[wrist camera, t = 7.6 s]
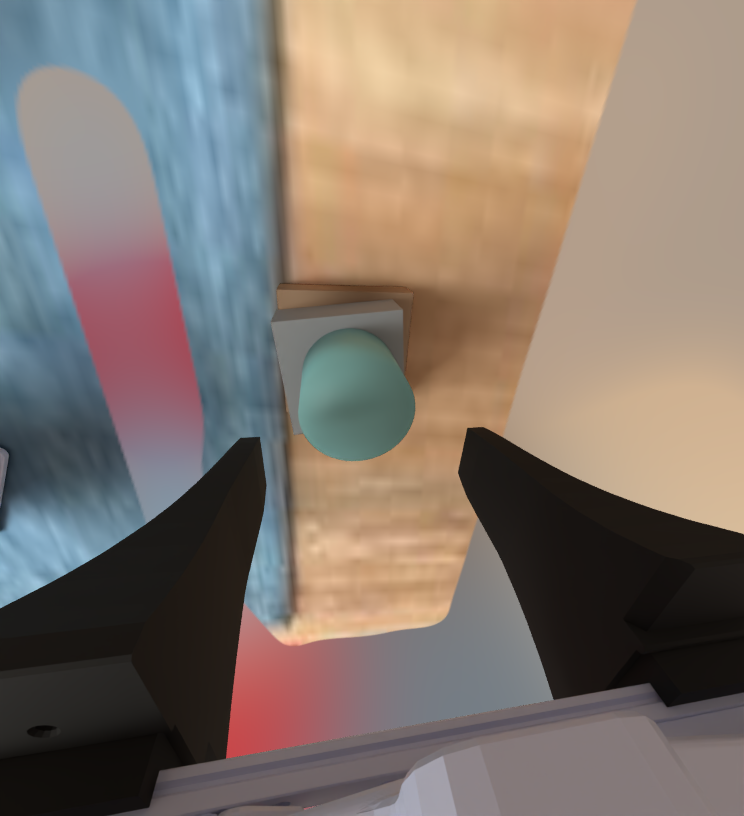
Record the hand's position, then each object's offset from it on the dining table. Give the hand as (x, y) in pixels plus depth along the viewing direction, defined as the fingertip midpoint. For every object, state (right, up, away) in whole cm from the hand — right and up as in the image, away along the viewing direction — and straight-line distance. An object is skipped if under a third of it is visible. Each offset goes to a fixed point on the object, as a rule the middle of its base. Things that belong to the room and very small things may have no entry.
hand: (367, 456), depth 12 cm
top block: (-2, +4, +7) cm, 9 cm away
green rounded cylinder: (-1, +3, +5) cm, 6 cm away
